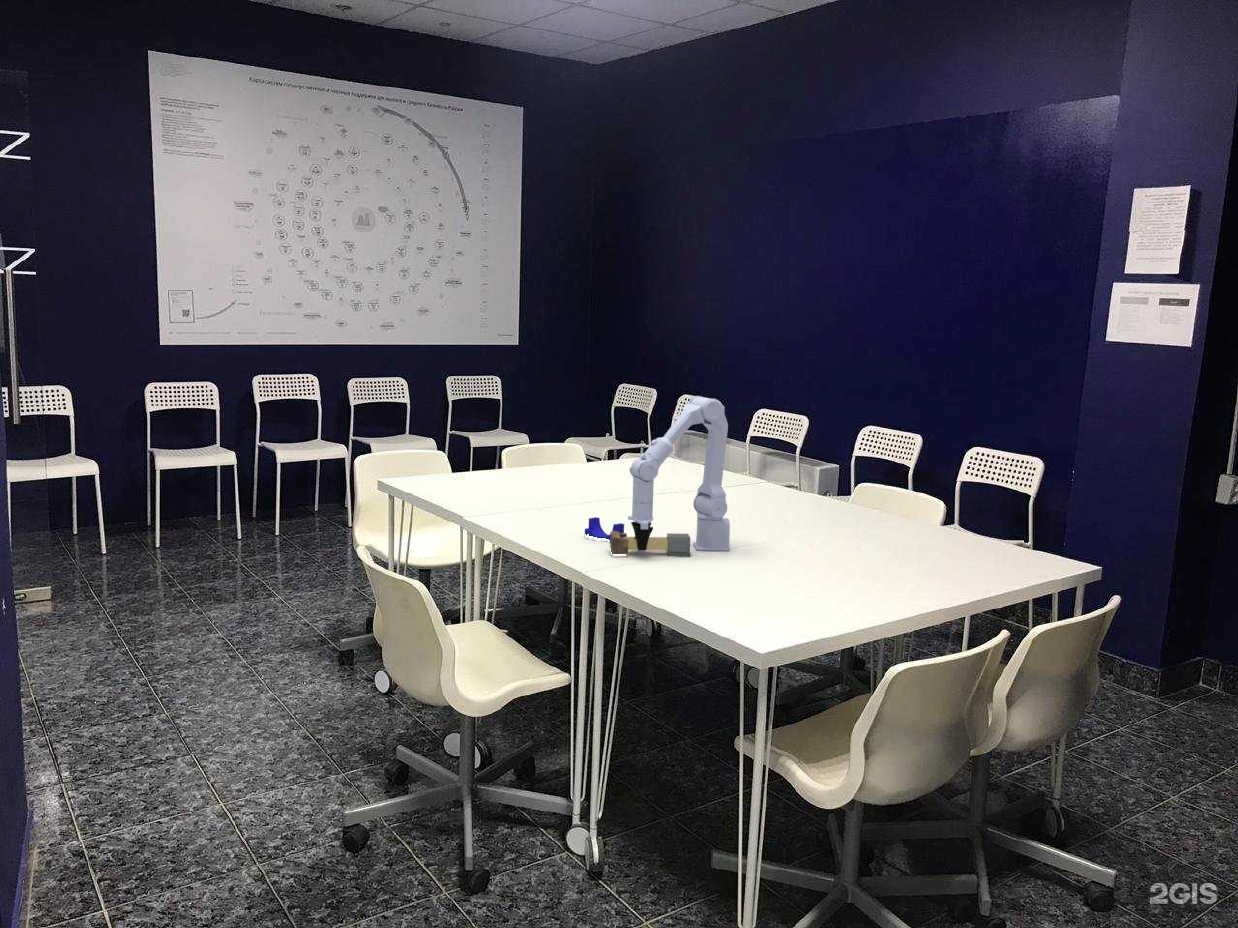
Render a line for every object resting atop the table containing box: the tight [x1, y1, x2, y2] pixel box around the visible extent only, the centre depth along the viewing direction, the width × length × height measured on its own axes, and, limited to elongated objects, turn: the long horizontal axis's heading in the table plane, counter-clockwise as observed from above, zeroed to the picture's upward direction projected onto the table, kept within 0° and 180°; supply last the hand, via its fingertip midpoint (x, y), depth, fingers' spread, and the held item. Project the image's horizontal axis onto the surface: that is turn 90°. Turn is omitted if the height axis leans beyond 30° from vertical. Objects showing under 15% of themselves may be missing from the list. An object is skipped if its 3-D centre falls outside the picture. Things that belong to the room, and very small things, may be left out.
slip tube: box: [620, 536, 669, 551], centre depth 281 cm, size 14×3×3 cm, turn 94°
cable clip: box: [584, 516, 625, 540], centre depth 296 cm, size 12×4×6 cm, turn 45°
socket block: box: [609, 530, 629, 556], centre depth 280 cm, size 4×8×6 cm, turn 4°
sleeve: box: [665, 532, 691, 558], centre depth 282 cm, size 6×6×5 cm
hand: (641, 548), depth 281 cm, fingers open, 3 cm apart
